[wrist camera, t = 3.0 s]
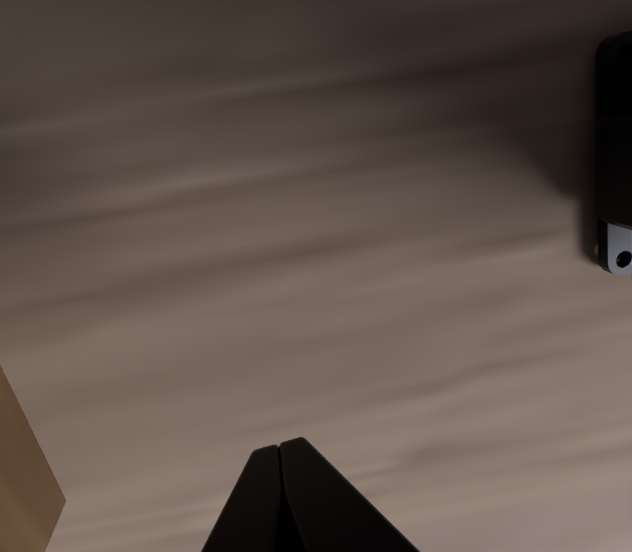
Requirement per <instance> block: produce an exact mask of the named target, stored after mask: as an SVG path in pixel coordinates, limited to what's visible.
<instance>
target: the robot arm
mask: <svg viewBox="0 0 632 552" xmlns="http://www.w3.org/2000/svg"><path fill="white" fill-rule="evenodd" d="M619 47H620V48H621V49H622V53H623V54H622V58H621V60H620V62H619V63H618V62H617V61H616V57H615V55H616V51H617V49H618V48H619ZM595 64H596V191H597V216H598V260H599V265H600V266H601V268H602V269H603V270H605V271H608V272H610V273H612V274H615V275H617V276H621V275H627V274H631V273H632V31H627V32H623V33H618V34H614V35H611V36H609V37H607V38H606V39H605V40H604V41H603V42H602V43H601V44H600V46H599V48H598V50H597V53H596V59H595ZM621 252H622V256H621V258H620V260H619V261H618V262H616V258H617V256H618V255H619V253H621ZM201 552H420V551H419V550H418V549H417V548H416V547H415V546H414V545H413V544H412V543H411V542H410V541H409V540H408V539H407V538H406V537H405V536H404V535H403V534H402V533H401V532H400V531H399V530H397V529H396V528H395V527H394V526H393V525H392V524H391V523H390V522H389V521H388V520H387V519H386V518H385V517H384V516H383V515H382V514H381V513H380V512H379V511H378V510H377V509H376V508H375V507H374V506H373V505H372V504H371V503H370V502H369V501H368V500H367V499H366V498H365V497H364V496H363V495H362V494H361V493H360V492H359V491H358V490H357V489H356V488H355V487H354V486H353V485H352V484H351V483H350V482H349V481H348V480H347V479H346V478H345V477H344V476H343V475H342V474H341V473H340V472H339V471H338V470H337V469H336V468H335V467H334V466H333V465H332V464H331V463H330V462H329V461H327V460H326V459H325V458H324V457H323V456H322V455H321V454H320V453H319V452H318V451H317V450H316V449H315V448H314V447H313V446H312V445H311V444H310V443H309V442H308V441H307V440H306V439H305V438H303V437H299V438H295V439H292V440H288V441H285V442H282V443H281V444H280V446H279V447H278V446H277V445H271V446H267V447H263V448H260V449H256V450H254V451H253V452H252V454H251V455H250V457H249V459H248V461H247V463H246V465H245V467H244V469H243V471H242V473H241V475H240V477H239V479H238V481H237V483H236V485H235V487H234V489H233V491H232V492H231V494H230V496H229V498H228V500H227V502H226V504H225V506H224V508H223V510H222V512H221V514H220V516H219V518H218V520H217V522H216V524H215V526H214V528H213V529H212V531H211V533H210V535H209V537H208V539H207V541H206V543H205V545H204V547H203V549H202V551H201Z"/></svg>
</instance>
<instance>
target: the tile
mask: <svg viewBox="0 0 632 552" xmlns="http://www.w3.org/2000/svg"><path fill="white" fill-rule="evenodd" d="M65 502H66V499H65V497H64V495H63V493H62V491H61V489H60V487H59V485H58V483H57V481H56V479H55V477H54V475H53V473H52V471H51V468H50V466H49V464H48V462H47V460H46V458H45V456H44V454H43V452H42V450H41V448H40V446H39V444H38V442H37V440H36V438H35V436H34V433H33V431H32V429H31V427H30V425H29V423H28V421H27V419H26V417H25V415H24V413H23V411H22V409H21V407H20V405H19V403H18V401H17V398H16V396H15V394H14V392H13V390H12V388H11V386H10V384H9V382H8V380H7V378H6V376H5V374H4V372H3V370H2V368H1V366H0V552H45V550H46V547H47V545H48V543H49V540H50V538H51V536H52V533H53V531H54V528H55V526H56V524H57V521H58V519H59V516H60V514H61V512H62V509H63V507H64V505H65Z"/></svg>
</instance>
